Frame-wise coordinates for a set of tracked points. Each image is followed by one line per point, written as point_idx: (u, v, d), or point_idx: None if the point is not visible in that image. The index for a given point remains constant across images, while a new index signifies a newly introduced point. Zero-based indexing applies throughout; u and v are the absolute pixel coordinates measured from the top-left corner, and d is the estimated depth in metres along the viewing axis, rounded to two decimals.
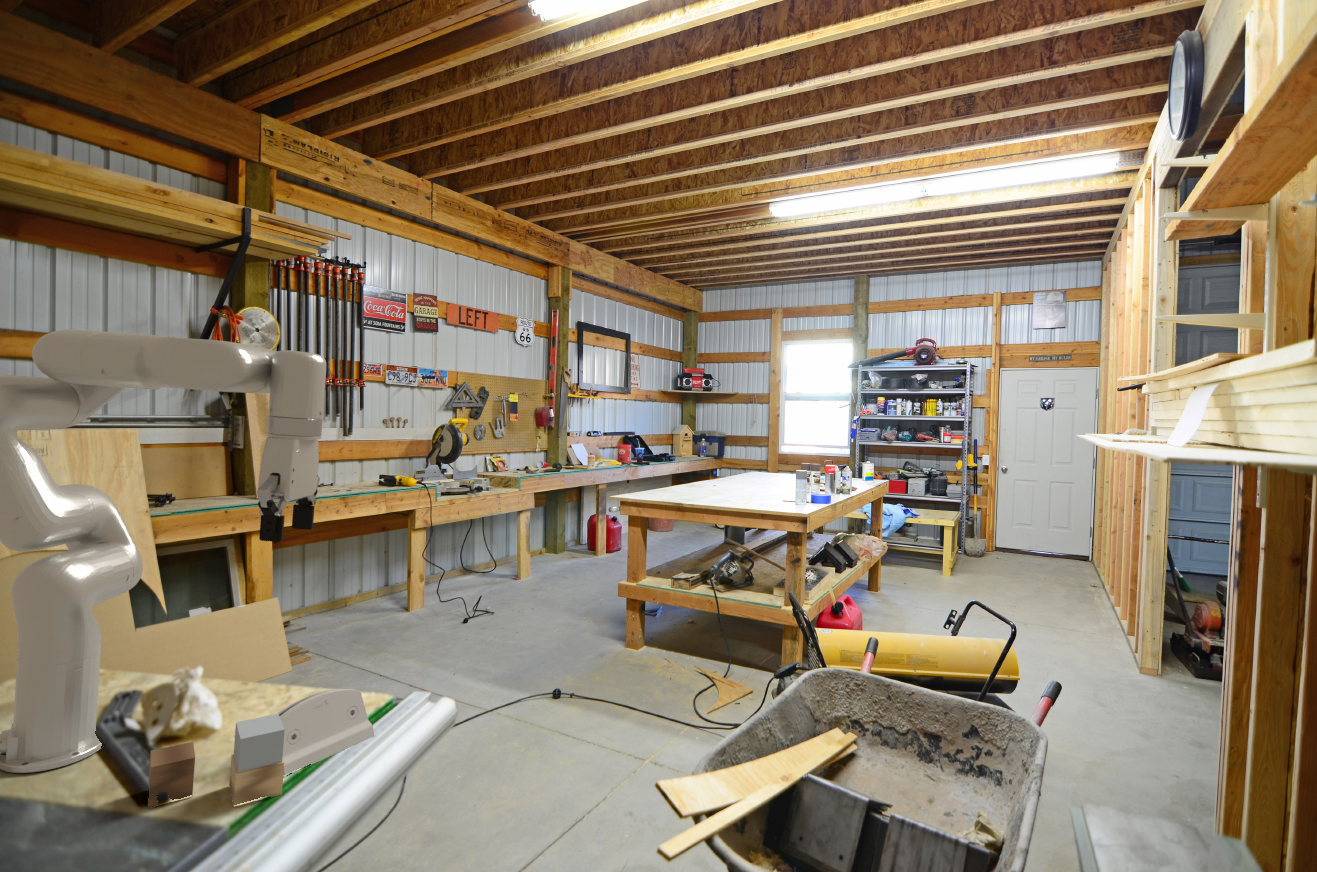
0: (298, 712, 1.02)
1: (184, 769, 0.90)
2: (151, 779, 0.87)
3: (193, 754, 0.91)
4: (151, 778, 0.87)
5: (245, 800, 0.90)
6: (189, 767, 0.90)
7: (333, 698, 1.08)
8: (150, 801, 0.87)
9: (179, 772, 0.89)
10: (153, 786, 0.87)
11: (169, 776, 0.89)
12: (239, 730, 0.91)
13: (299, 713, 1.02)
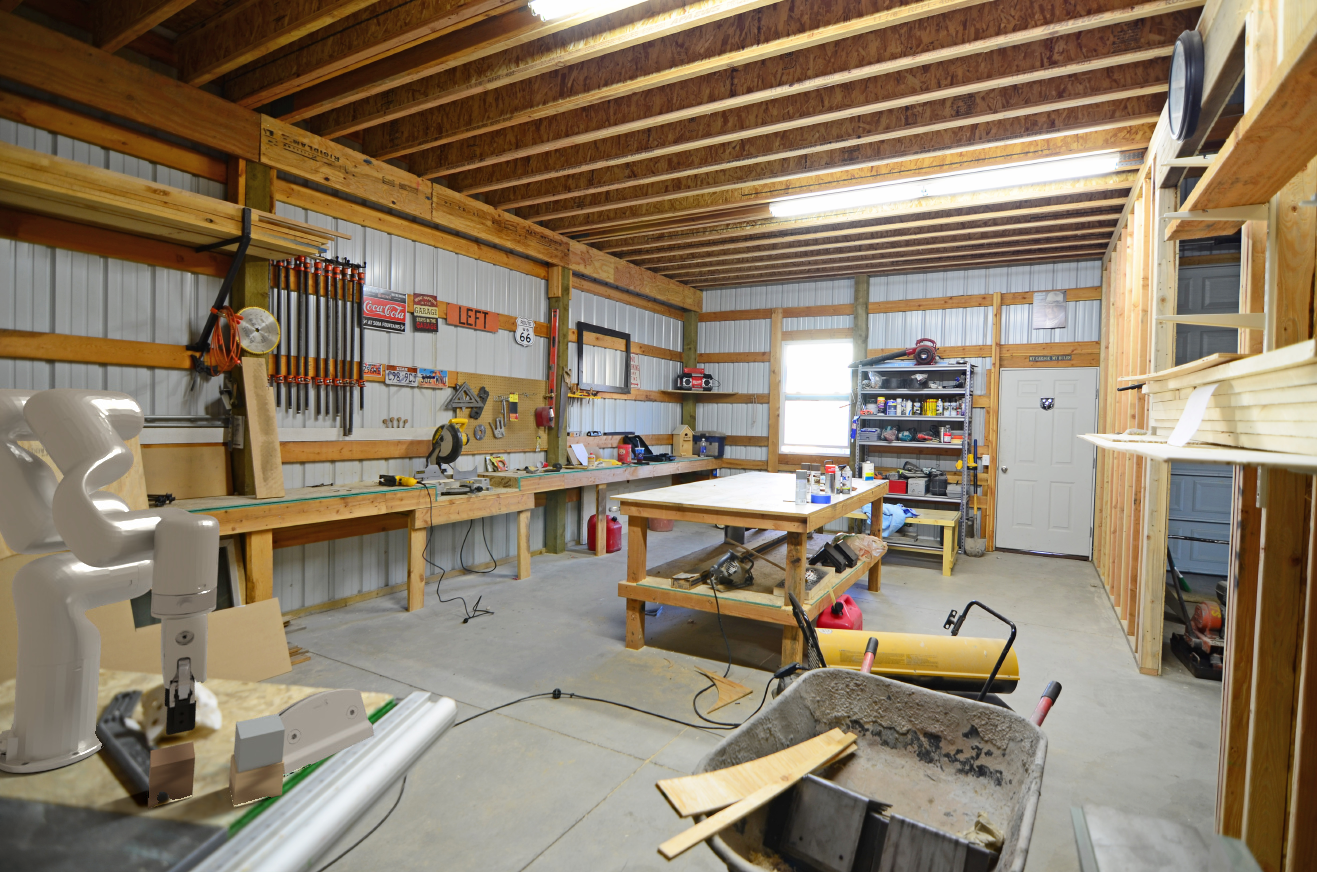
0: (298, 712, 1.02)
1: (184, 769, 0.90)
2: (151, 779, 0.87)
3: (193, 754, 0.91)
4: (151, 778, 0.87)
5: (245, 800, 0.90)
6: (189, 767, 0.90)
7: (333, 698, 1.08)
8: (150, 801, 0.87)
9: (179, 773, 0.89)
10: (153, 786, 0.87)
11: (169, 776, 0.88)
12: (239, 730, 0.91)
13: (299, 713, 1.02)
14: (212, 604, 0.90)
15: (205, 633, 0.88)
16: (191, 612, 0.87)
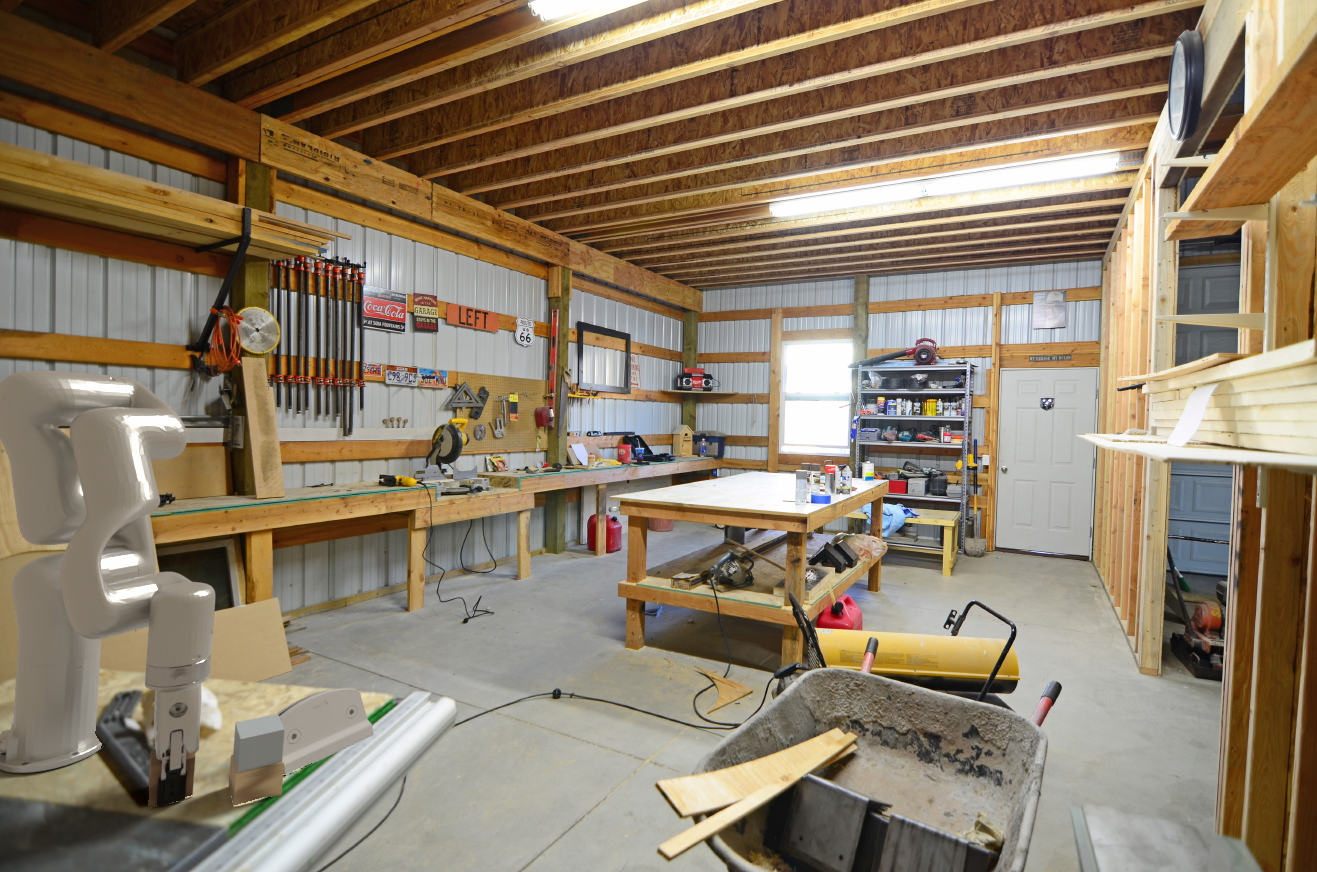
0: (298, 712, 1.02)
1: None
2: (151, 779, 0.87)
3: (193, 754, 0.91)
4: (151, 778, 0.87)
5: (245, 800, 0.90)
6: (189, 767, 0.90)
7: (332, 697, 1.08)
8: (151, 801, 0.87)
9: None
10: (153, 786, 0.87)
11: None
12: (239, 730, 0.91)
13: (299, 713, 1.02)
14: (206, 673, 0.91)
15: (198, 704, 0.88)
16: (185, 683, 0.88)
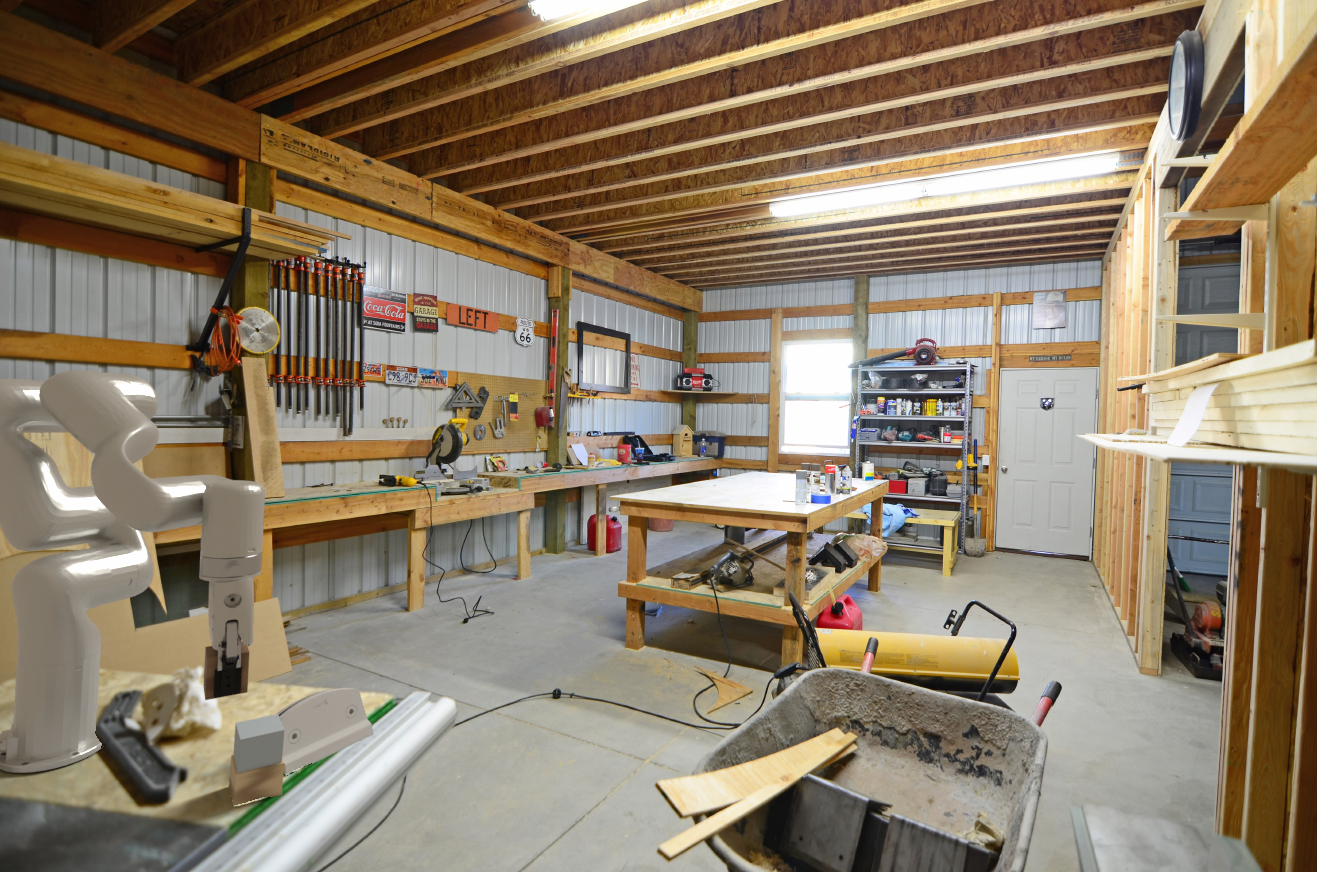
0: (298, 712, 1.02)
1: None
2: (208, 670, 0.88)
3: (247, 649, 0.92)
4: (208, 669, 0.88)
5: (245, 800, 0.90)
6: (244, 661, 0.91)
7: (332, 697, 1.08)
8: (207, 692, 0.88)
9: None
10: (210, 677, 0.88)
11: None
12: (239, 730, 0.91)
13: (299, 713, 1.02)
14: (258, 569, 0.91)
15: (252, 596, 0.89)
16: (238, 575, 0.88)
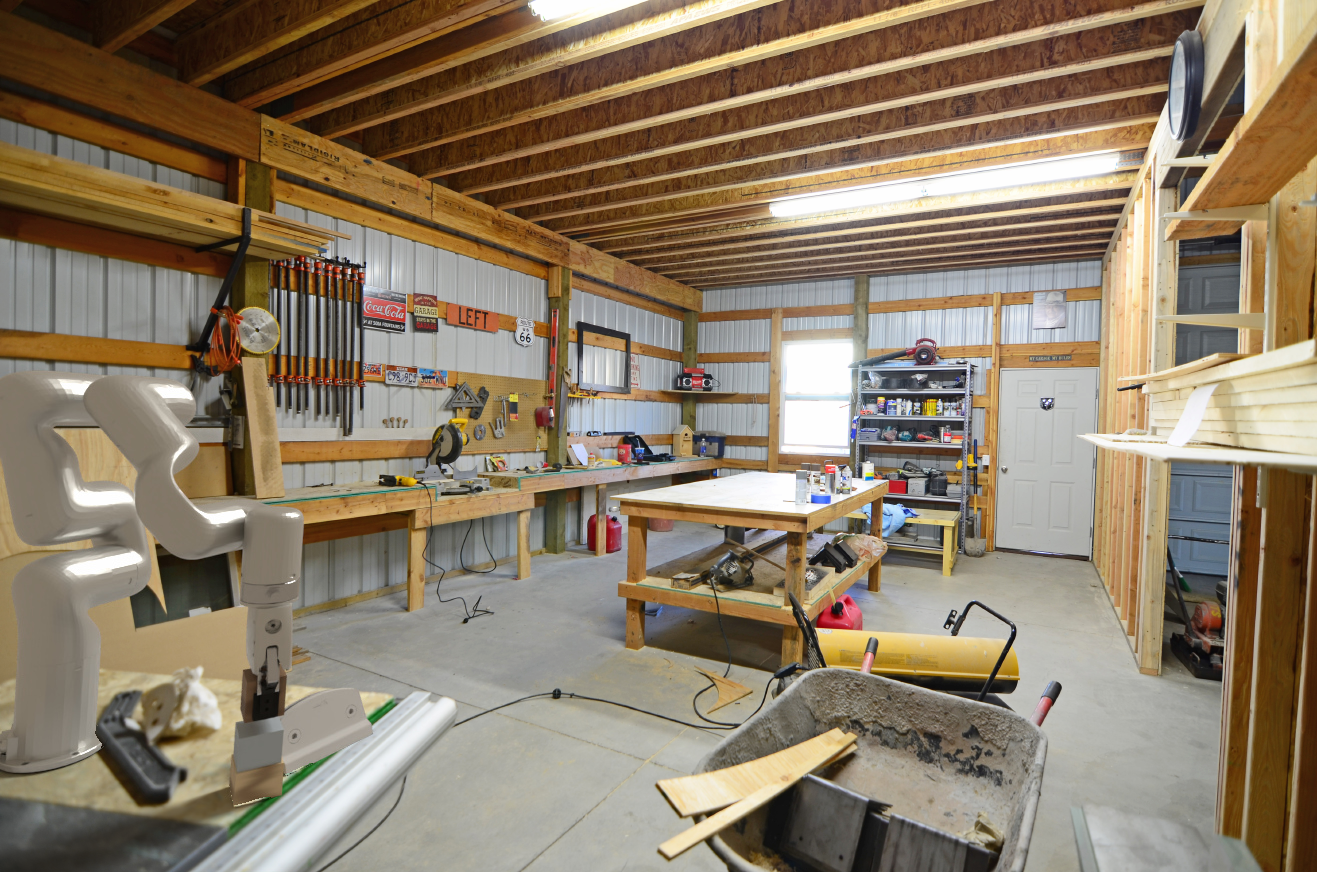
0: (298, 711, 1.02)
1: None
2: (247, 694, 0.89)
3: (284, 673, 0.93)
4: (247, 693, 0.89)
5: (245, 800, 0.90)
6: (281, 685, 0.92)
7: (332, 697, 1.08)
8: (246, 716, 0.90)
9: None
10: (249, 701, 0.90)
11: None
12: (238, 730, 0.91)
13: (299, 713, 1.02)
14: (296, 594, 0.93)
15: (291, 622, 0.91)
16: (279, 601, 0.90)
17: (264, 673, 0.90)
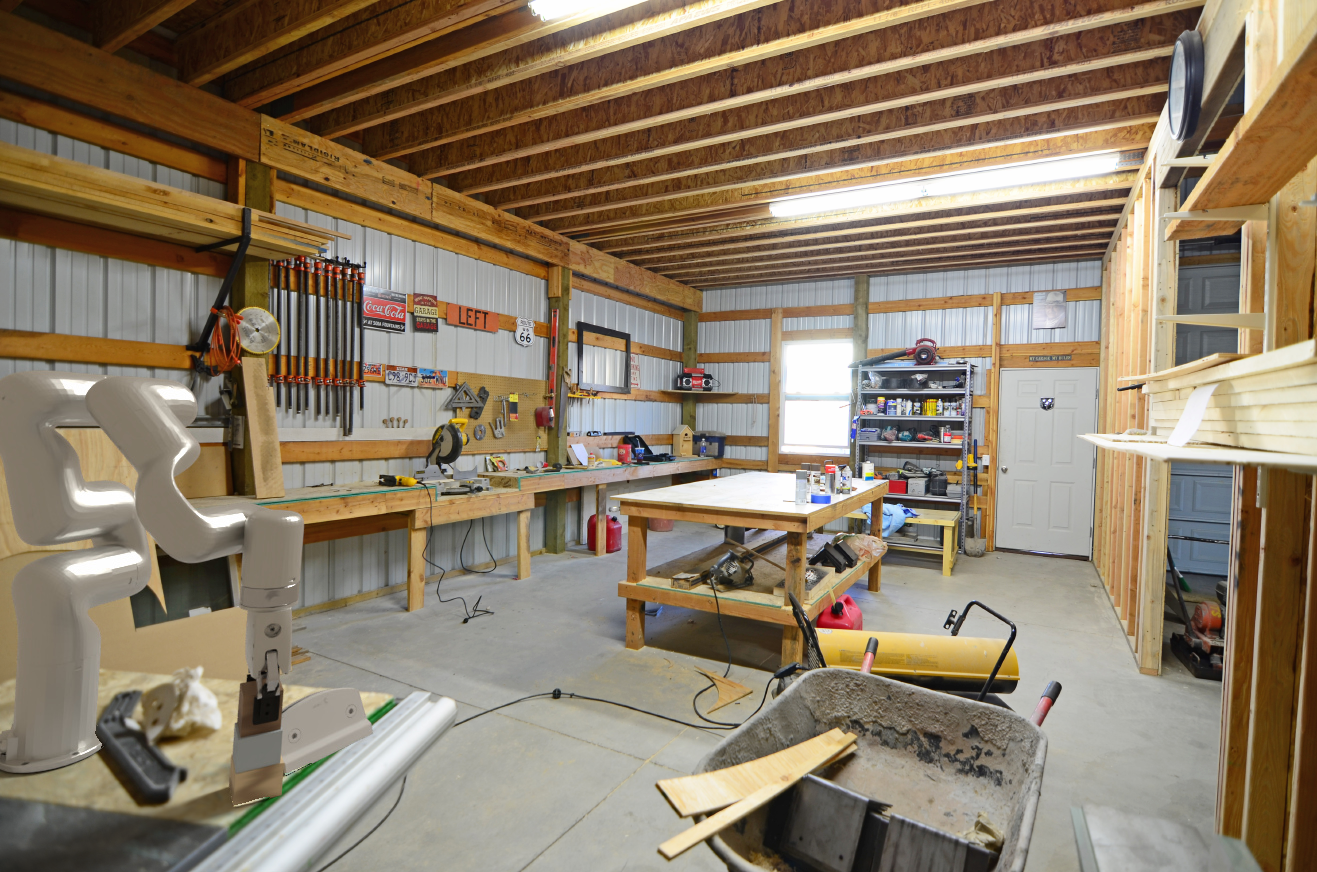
0: (298, 711, 1.02)
1: None
2: (244, 708, 0.89)
3: (281, 687, 0.93)
4: (244, 707, 0.89)
5: (245, 800, 0.90)
6: None
7: (332, 697, 1.08)
8: (243, 730, 0.90)
9: None
10: (245, 715, 0.90)
11: None
12: (237, 731, 0.91)
13: (299, 712, 1.02)
14: (296, 598, 0.93)
15: (291, 626, 0.91)
16: (278, 605, 0.90)
17: (264, 675, 0.89)
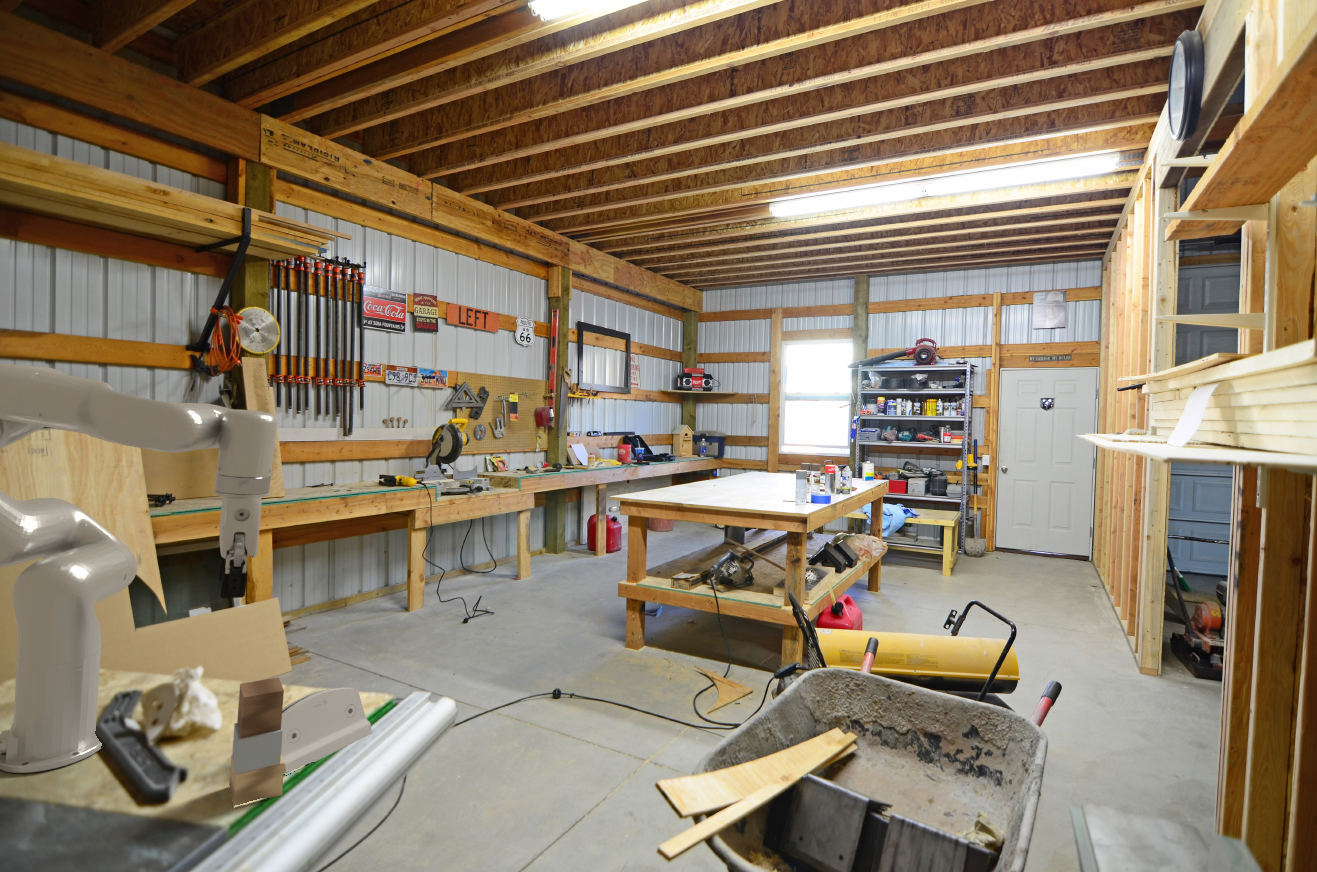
0: (297, 711, 1.02)
1: (274, 701, 0.92)
2: (244, 709, 0.89)
3: (281, 687, 0.93)
4: (244, 708, 0.89)
5: (245, 800, 0.90)
6: (278, 699, 0.92)
7: (331, 697, 1.08)
8: (243, 731, 0.89)
9: (269, 704, 0.91)
10: (245, 716, 0.89)
11: (260, 707, 0.91)
12: (237, 731, 0.91)
13: (298, 712, 1.02)
14: (266, 490, 1.02)
15: (259, 514, 1.00)
16: (248, 494, 0.99)
17: (233, 554, 0.98)
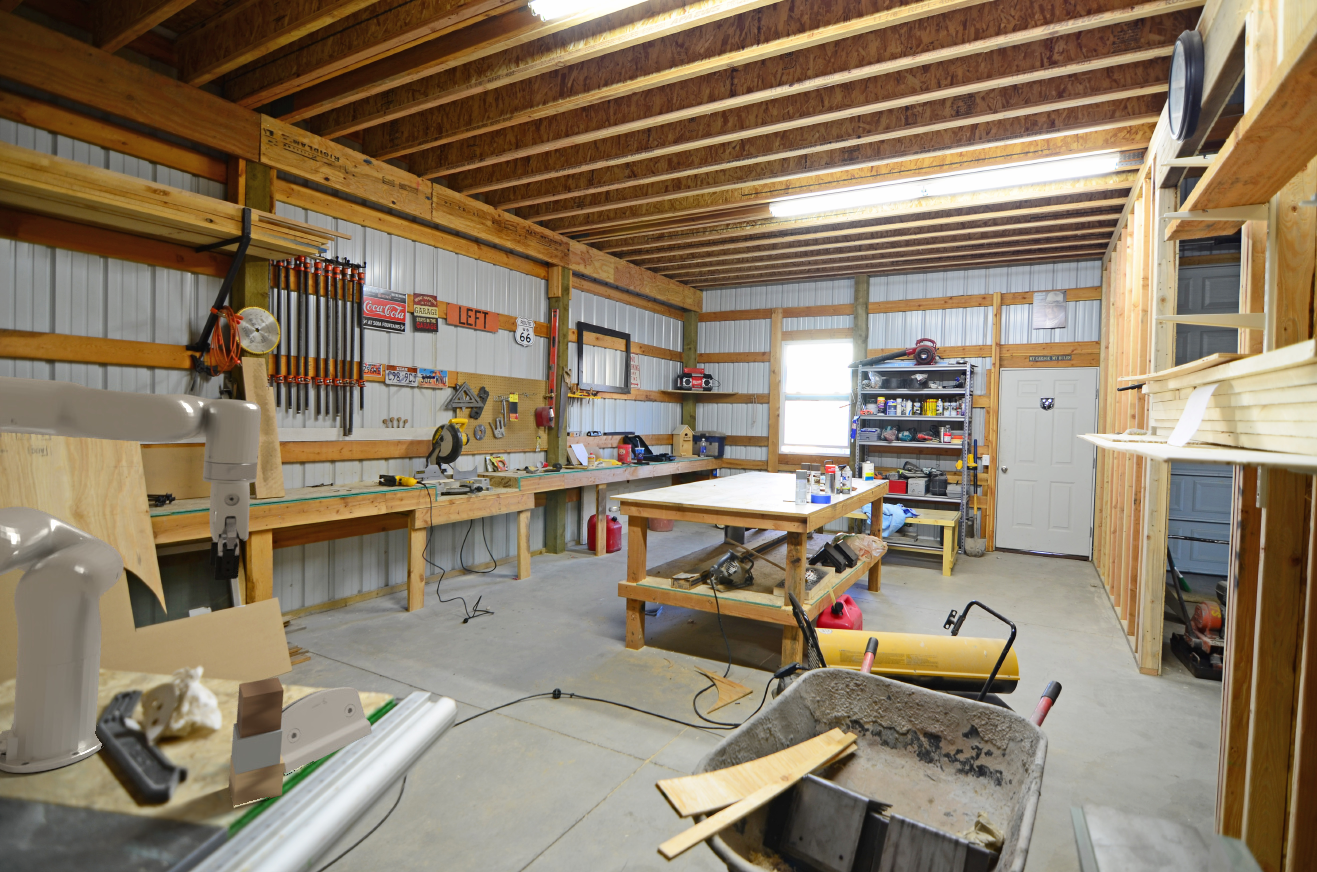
0: (297, 711, 1.02)
1: (274, 701, 0.92)
2: (244, 709, 0.89)
3: (281, 687, 0.93)
4: (244, 708, 0.89)
5: (245, 800, 0.90)
6: (278, 699, 0.92)
7: (331, 696, 1.08)
8: (243, 731, 0.89)
9: (269, 704, 0.91)
10: (245, 716, 0.89)
11: (259, 707, 0.90)
12: (237, 731, 0.91)
13: (298, 712, 1.02)
14: (254, 476, 1.06)
15: (248, 498, 1.04)
16: (237, 479, 1.03)
17: (225, 538, 1.02)
